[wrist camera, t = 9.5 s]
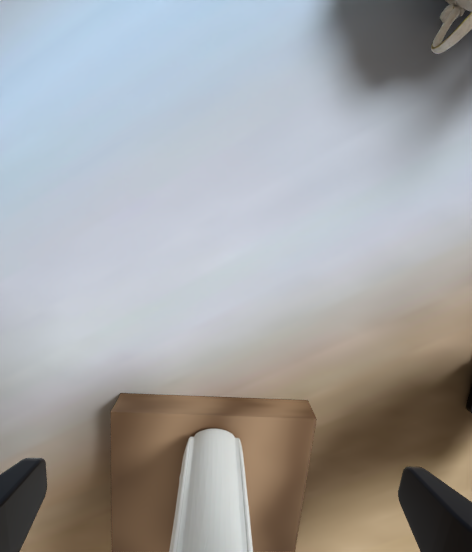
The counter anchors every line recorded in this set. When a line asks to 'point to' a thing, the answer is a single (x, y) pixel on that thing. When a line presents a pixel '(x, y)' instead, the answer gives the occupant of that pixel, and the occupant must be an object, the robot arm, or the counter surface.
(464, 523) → the robot arm
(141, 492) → the walnut stand
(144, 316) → the counter surface
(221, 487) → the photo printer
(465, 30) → the chinaware
